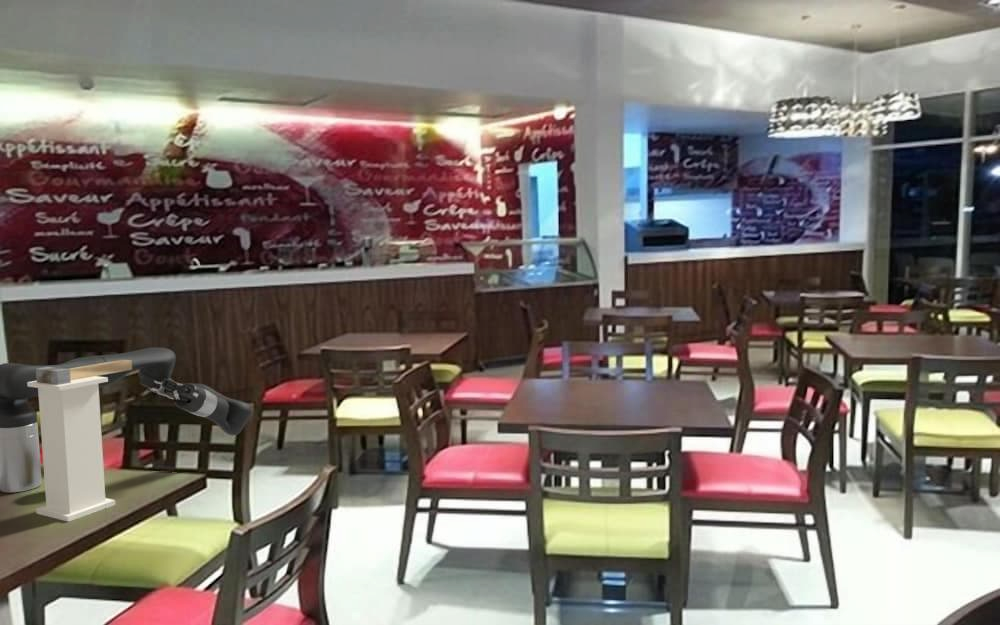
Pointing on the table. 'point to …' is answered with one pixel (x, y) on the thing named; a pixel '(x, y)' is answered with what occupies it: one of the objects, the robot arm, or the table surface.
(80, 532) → the table surface
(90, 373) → the hammer
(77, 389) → the stand
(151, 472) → the table surface
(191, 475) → the table surface
